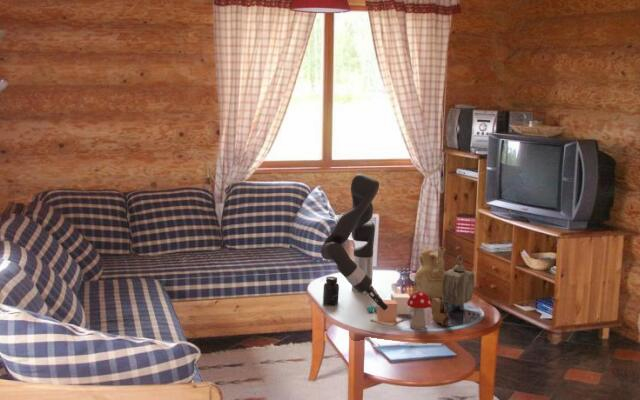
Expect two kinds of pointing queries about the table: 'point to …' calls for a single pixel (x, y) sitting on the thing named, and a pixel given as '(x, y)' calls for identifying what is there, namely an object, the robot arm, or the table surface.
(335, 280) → the supplement bottle
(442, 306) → the wooden carving
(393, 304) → the peach rectangular brick
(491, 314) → the table surface
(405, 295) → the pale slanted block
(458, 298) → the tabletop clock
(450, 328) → the table surface
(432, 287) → the tan upright figure
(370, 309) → the teal marble
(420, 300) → the decorative mushroom
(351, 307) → the table surface
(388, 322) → the birch coaster
